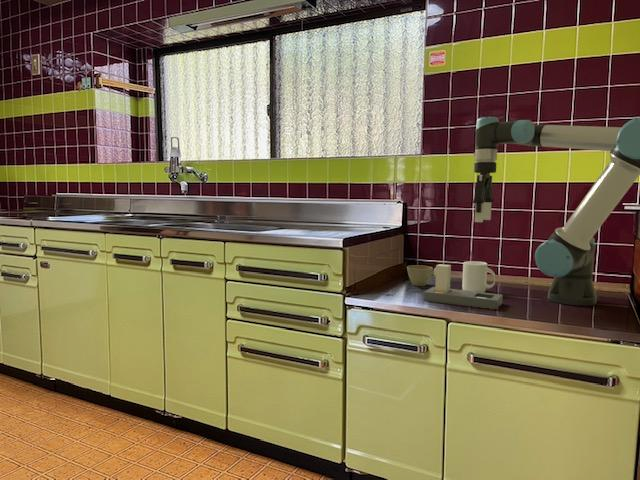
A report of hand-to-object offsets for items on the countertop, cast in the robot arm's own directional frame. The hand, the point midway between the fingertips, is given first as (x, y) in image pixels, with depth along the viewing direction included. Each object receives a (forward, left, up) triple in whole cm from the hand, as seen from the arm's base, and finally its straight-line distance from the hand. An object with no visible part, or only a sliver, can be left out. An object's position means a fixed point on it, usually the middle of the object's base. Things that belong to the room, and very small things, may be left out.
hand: (482, 221), depth 177 cm
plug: (+9, +17, -27) cm, 33 cm away
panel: (+2, +17, -27) cm, 32 cm away
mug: (+1, -3, -27) cm, 27 cm away
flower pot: (+24, -3, -27) cm, 36 cm away
